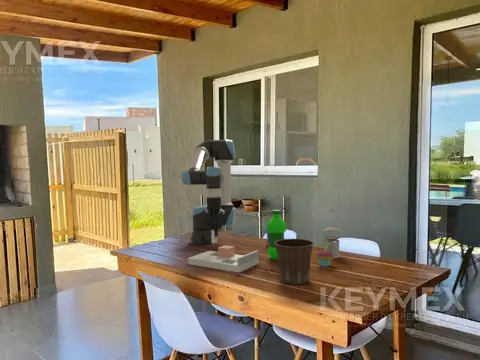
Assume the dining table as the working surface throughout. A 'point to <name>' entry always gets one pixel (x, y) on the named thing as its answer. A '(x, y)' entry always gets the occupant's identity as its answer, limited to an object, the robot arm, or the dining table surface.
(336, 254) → the french press
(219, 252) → the block
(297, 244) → the plant pot
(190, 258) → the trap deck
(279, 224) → the plastic bottle
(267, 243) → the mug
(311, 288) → the dining table surface
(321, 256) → the cupcake
